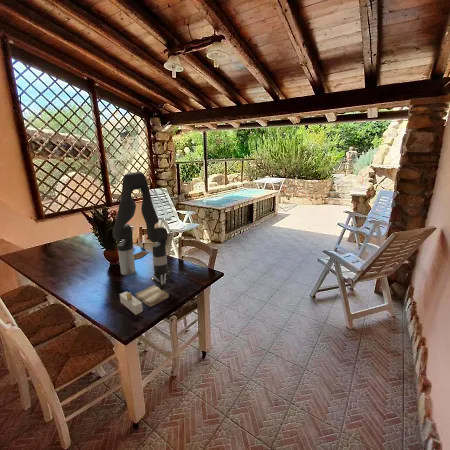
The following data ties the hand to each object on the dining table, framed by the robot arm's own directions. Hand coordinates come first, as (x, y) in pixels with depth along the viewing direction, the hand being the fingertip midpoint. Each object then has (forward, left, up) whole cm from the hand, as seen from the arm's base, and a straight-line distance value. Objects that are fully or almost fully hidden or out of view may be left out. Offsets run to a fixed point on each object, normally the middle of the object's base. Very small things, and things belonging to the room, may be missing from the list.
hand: (162, 289), depth 146 cm
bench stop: (0, -20, -2) cm, 20 cm away
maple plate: (0, -7, -2) cm, 8 cm away
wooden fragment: (-58, +13, -2) cm, 60 cm away
